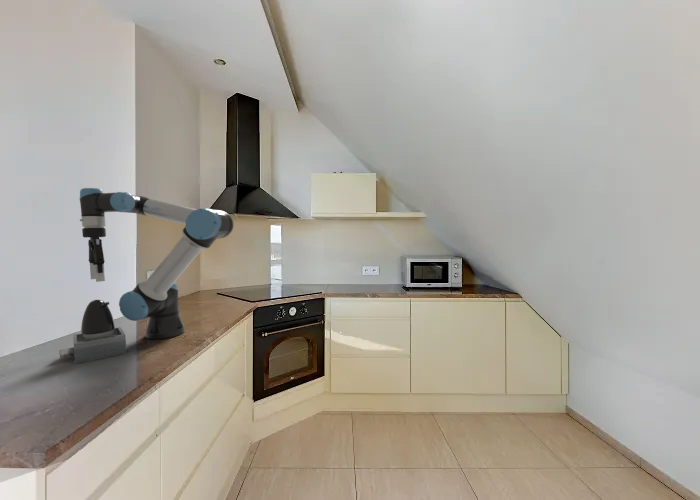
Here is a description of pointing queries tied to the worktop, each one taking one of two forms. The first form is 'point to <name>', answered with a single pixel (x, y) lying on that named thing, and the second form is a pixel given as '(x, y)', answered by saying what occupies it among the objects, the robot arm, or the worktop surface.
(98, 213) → the robot arm
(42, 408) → the worktop surface
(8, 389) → the worktop surface
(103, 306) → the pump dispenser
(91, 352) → the block
